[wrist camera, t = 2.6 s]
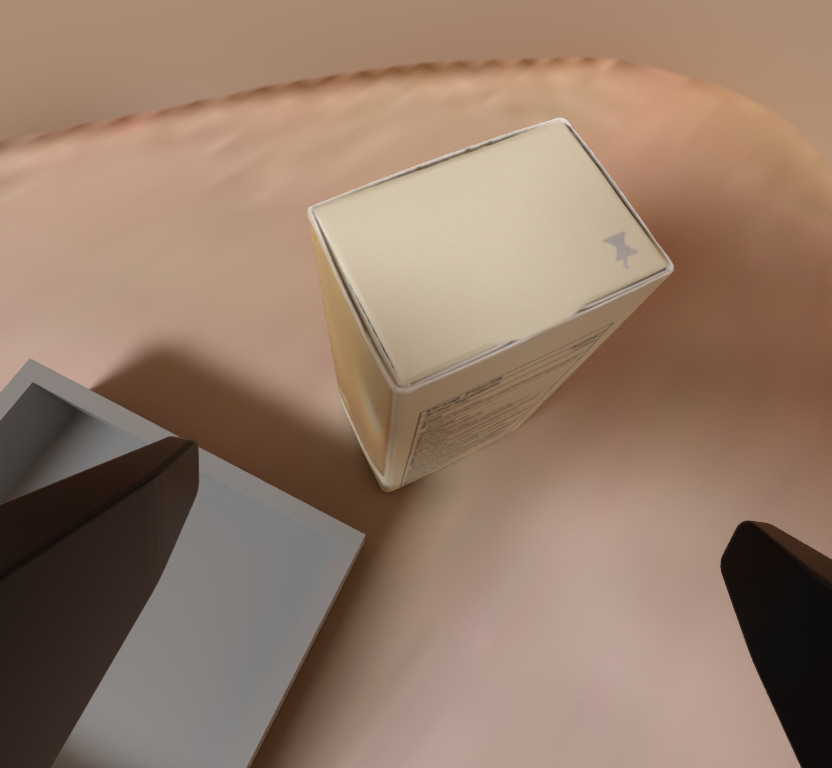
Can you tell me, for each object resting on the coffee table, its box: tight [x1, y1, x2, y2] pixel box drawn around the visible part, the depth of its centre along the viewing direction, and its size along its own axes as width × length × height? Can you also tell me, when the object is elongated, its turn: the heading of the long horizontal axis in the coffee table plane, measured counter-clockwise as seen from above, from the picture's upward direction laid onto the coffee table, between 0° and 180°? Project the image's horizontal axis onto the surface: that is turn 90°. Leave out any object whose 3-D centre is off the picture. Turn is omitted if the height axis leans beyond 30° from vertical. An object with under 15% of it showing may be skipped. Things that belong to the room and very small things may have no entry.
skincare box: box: [307, 118, 674, 493], centre depth 16 cm, size 6×4×12 cm
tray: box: [0, 359, 366, 768], centre depth 16 cm, size 12×12×4 cm
